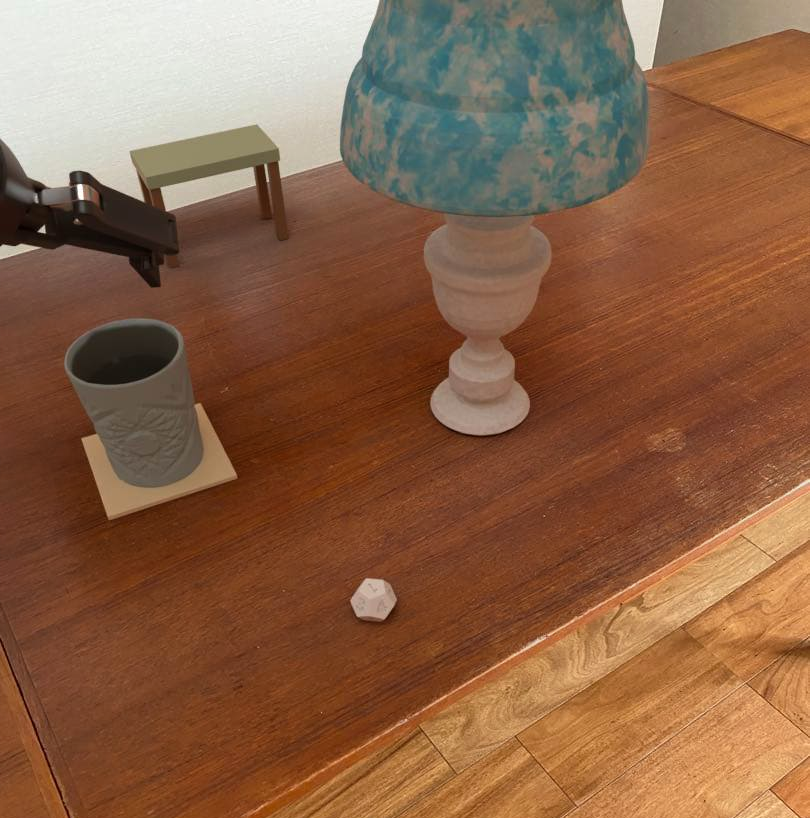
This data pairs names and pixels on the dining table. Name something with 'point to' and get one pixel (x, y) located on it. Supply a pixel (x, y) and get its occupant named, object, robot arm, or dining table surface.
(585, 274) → the dining table surface
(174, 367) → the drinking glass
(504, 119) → the table lamp
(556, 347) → the dining table surface
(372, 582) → the game die
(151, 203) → the side table
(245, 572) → the dining table surface
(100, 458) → the mat
